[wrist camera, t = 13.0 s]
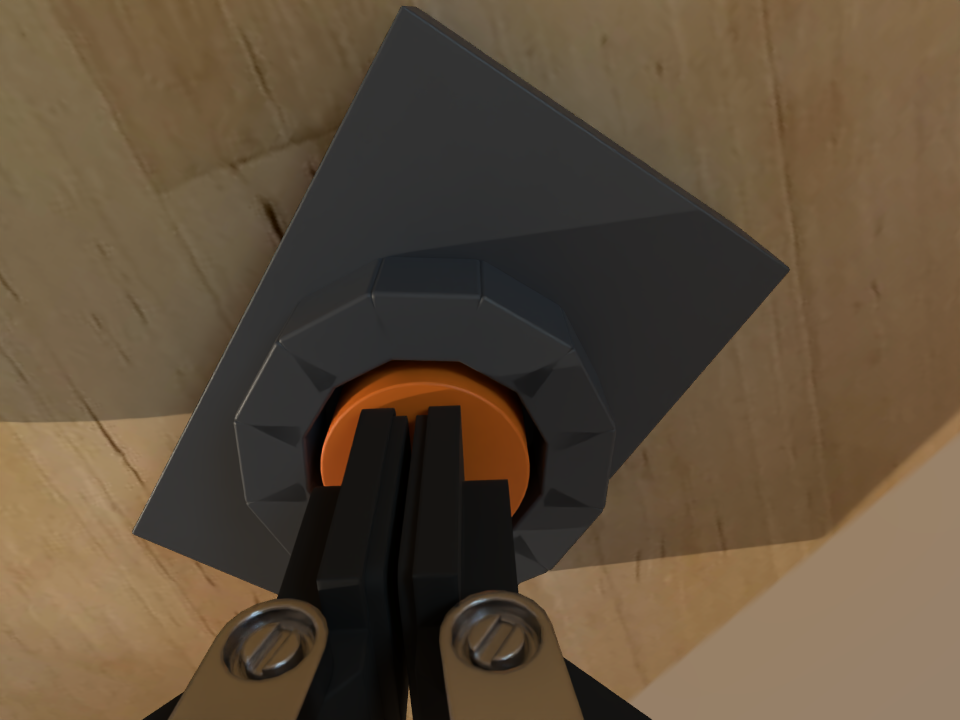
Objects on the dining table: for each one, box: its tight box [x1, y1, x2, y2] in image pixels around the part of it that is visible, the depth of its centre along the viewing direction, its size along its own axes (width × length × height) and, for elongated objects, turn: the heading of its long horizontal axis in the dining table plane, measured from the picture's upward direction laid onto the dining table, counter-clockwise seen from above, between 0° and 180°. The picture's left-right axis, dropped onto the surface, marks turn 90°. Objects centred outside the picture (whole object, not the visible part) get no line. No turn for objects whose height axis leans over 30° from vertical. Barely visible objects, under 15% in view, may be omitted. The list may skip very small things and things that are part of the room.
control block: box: [132, 6, 790, 594], centre depth 14 cm, size 12×8×4 cm, turn 148°
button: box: [321, 360, 530, 517], centre depth 13 cm, size 4×4×2 cm
